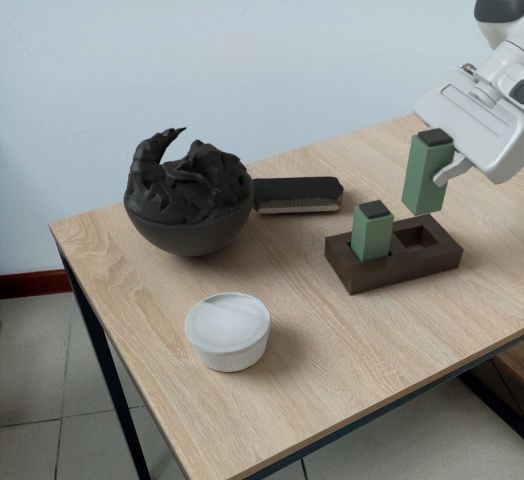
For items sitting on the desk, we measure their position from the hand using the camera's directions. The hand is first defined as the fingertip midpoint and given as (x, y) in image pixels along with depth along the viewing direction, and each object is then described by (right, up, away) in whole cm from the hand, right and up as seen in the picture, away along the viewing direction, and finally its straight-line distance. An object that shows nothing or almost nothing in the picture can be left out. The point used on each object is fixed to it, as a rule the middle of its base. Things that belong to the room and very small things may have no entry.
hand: (424, 172), depth 73 cm
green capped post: (+1, -3, +4) cm, 5 cm away
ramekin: (-26, -24, -1) cm, 36 cm away
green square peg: (-6, -12, +9) cm, 16 cm away
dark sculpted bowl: (-33, -7, +16) cm, 37 cm away
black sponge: (-16, +2, +22) cm, 28 cm away
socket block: (-2, -11, +10) cm, 15 cm away
